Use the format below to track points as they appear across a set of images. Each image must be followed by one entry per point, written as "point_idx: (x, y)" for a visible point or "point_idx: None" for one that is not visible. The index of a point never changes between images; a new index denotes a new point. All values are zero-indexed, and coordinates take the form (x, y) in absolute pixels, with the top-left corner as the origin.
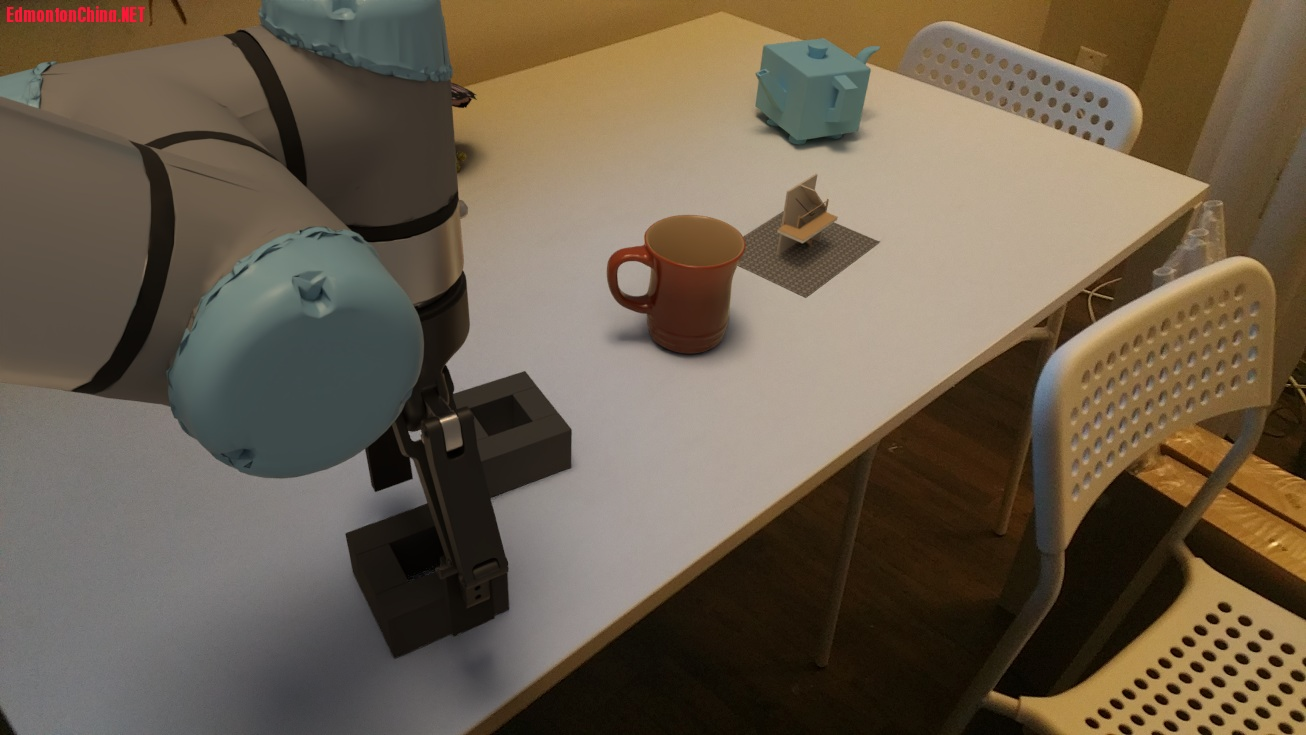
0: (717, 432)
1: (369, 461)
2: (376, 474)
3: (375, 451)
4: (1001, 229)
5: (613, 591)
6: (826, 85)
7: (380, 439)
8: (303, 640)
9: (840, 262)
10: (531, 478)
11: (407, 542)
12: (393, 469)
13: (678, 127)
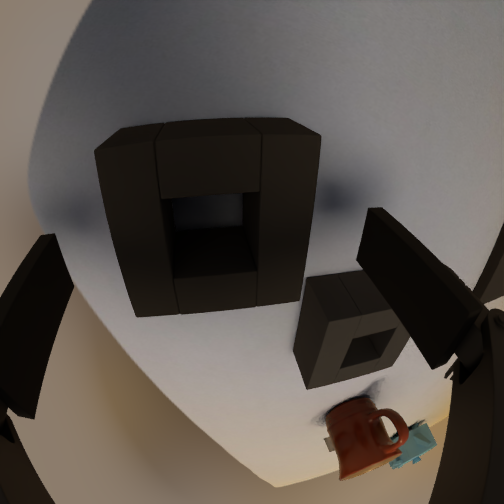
0: (262, 413)
1: (408, 243)
2: (386, 232)
3: (414, 267)
4: (301, 469)
5: (138, 342)
6: (402, 458)
7: (424, 294)
8: (208, 27)
9: (331, 445)
10: (299, 328)
11: (256, 214)
12: (378, 256)
13: (446, 399)
